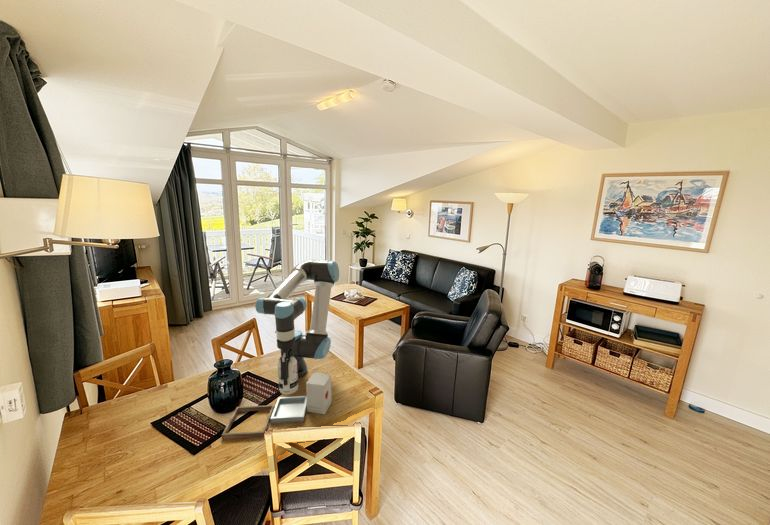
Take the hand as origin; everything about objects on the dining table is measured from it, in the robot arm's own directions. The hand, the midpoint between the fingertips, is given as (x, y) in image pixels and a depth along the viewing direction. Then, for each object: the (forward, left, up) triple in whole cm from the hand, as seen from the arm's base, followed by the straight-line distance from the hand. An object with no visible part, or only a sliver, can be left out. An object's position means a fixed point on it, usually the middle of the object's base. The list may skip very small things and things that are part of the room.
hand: (288, 384), depth 136 cm
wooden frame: (+6, -16, -14) cm, 22 cm away
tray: (0, 0, -14) cm, 14 cm away
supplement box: (-2, +13, -14) cm, 20 cm away
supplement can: (0, 0, -3) cm, 3 cm away
